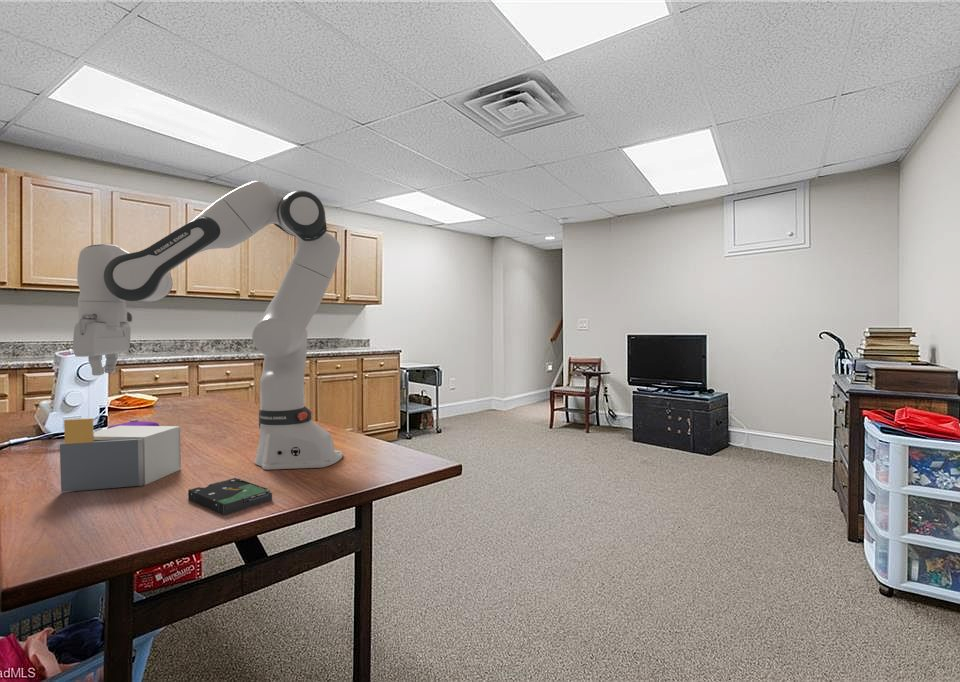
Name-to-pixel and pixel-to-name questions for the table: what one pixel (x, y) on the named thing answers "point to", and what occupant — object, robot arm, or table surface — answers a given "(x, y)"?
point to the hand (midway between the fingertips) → (104, 374)
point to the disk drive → (229, 496)
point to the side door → (98, 459)
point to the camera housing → (150, 447)
